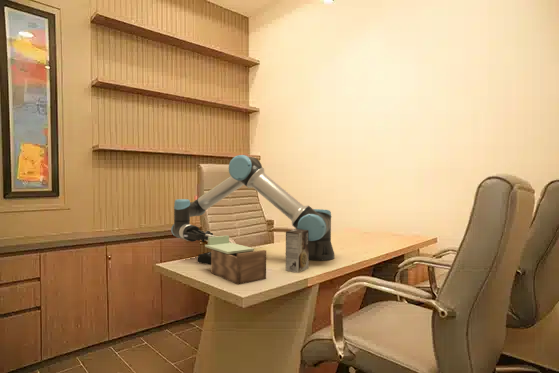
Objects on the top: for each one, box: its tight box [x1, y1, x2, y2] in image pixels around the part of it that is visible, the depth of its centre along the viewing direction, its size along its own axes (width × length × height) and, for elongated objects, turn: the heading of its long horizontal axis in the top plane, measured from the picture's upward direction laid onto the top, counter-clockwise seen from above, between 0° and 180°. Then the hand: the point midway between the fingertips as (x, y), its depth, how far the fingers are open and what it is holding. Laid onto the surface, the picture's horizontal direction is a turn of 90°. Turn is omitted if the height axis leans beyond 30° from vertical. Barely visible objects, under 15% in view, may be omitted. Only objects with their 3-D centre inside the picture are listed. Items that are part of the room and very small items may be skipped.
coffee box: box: [285, 228, 309, 273], centre depth 143 cm, size 9×6×16 cm
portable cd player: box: [197, 251, 211, 266], centre depth 157 cm, size 16×17×4 cm
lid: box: [204, 235, 255, 254], centre depth 137 cm, size 18×12×4 cm, turn 39°
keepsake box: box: [210, 249, 267, 285], centre depth 132 cm, size 20×12×10 cm, turn 39°
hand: (213, 239), depth 147 cm, fingers closed
